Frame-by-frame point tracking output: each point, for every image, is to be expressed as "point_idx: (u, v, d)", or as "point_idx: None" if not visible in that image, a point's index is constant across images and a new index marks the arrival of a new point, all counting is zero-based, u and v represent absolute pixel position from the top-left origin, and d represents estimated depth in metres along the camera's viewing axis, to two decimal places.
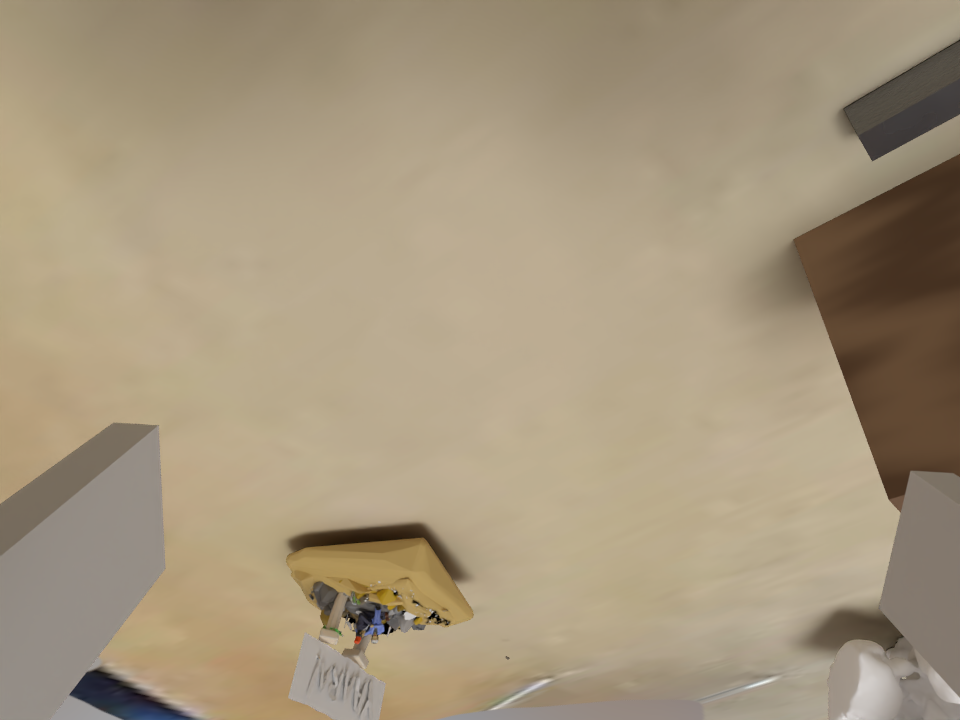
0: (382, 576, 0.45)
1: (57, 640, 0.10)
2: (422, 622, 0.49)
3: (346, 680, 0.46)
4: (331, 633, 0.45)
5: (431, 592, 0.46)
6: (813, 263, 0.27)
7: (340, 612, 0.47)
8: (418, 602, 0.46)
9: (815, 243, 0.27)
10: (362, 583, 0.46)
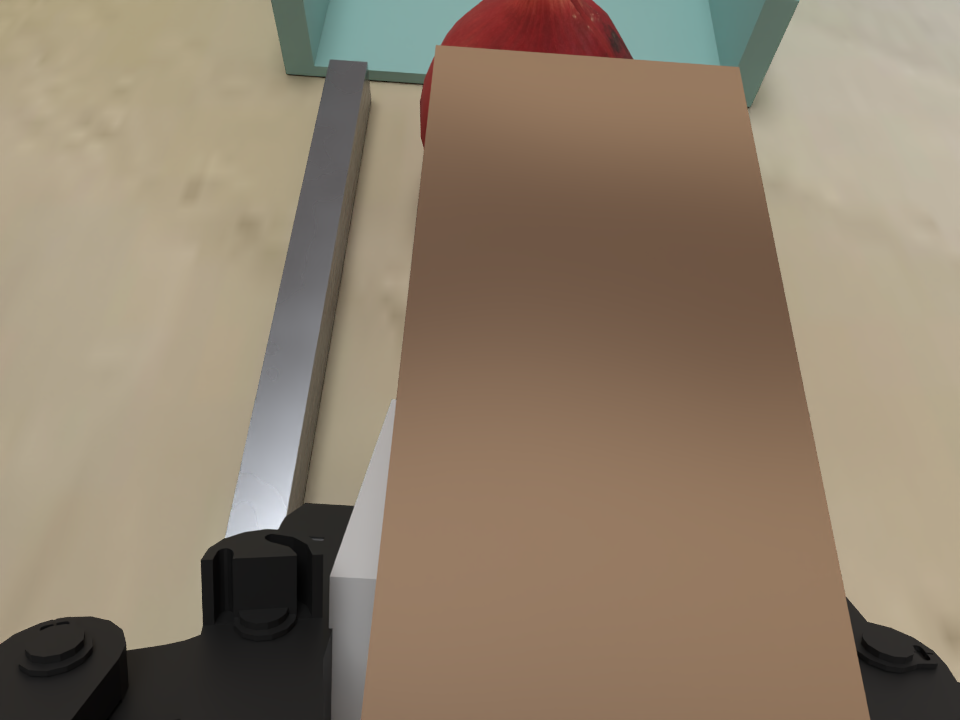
0: None
1: None
2: None
3: None
4: None
5: None
6: None
7: None
8: None
9: None
10: None
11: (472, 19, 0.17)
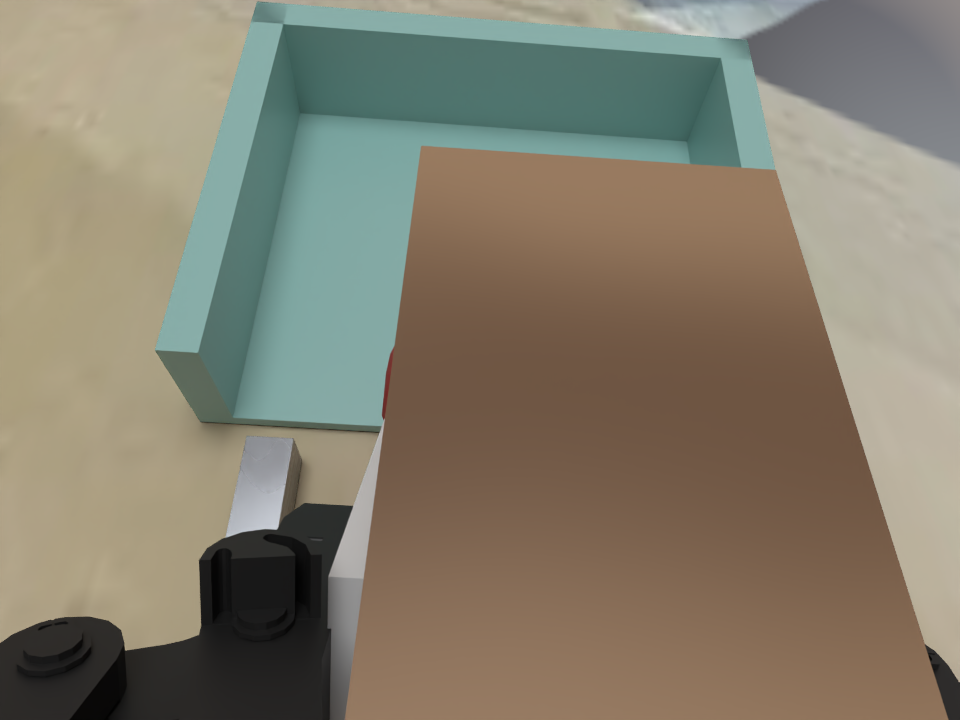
0: None
1: None
2: None
3: None
4: None
5: None
6: None
7: None
8: None
9: None
10: None
11: None
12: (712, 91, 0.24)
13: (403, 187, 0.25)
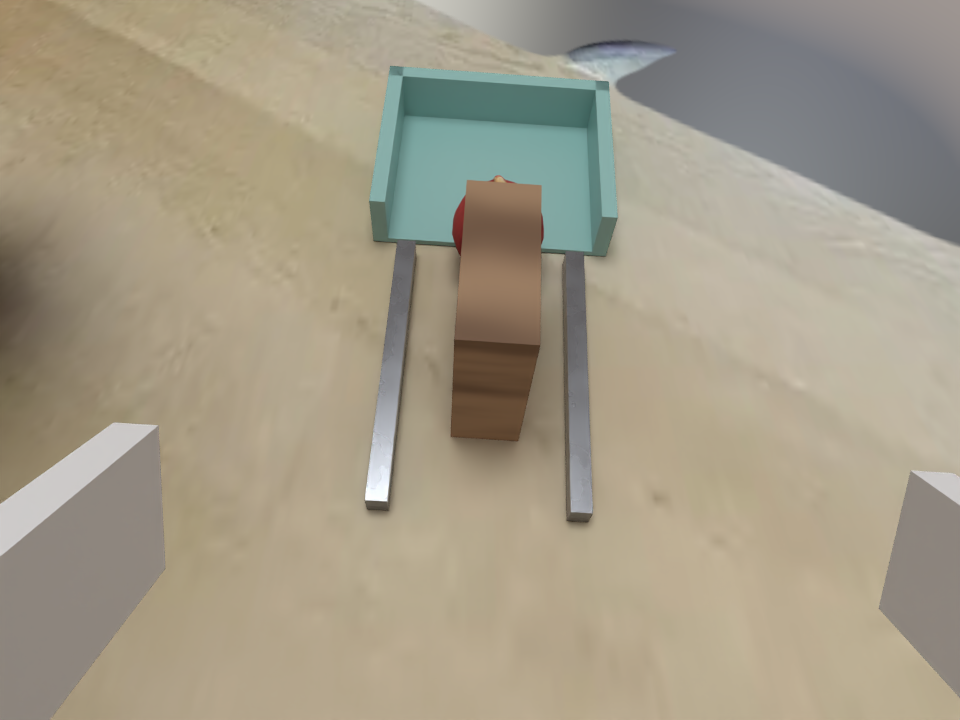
0: None
1: (56, 641, 0.10)
2: None
3: None
4: None
5: None
6: None
7: None
8: None
9: None
10: None
11: None
12: (593, 104, 0.54)
13: (453, 148, 0.55)
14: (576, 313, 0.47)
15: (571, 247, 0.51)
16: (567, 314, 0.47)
